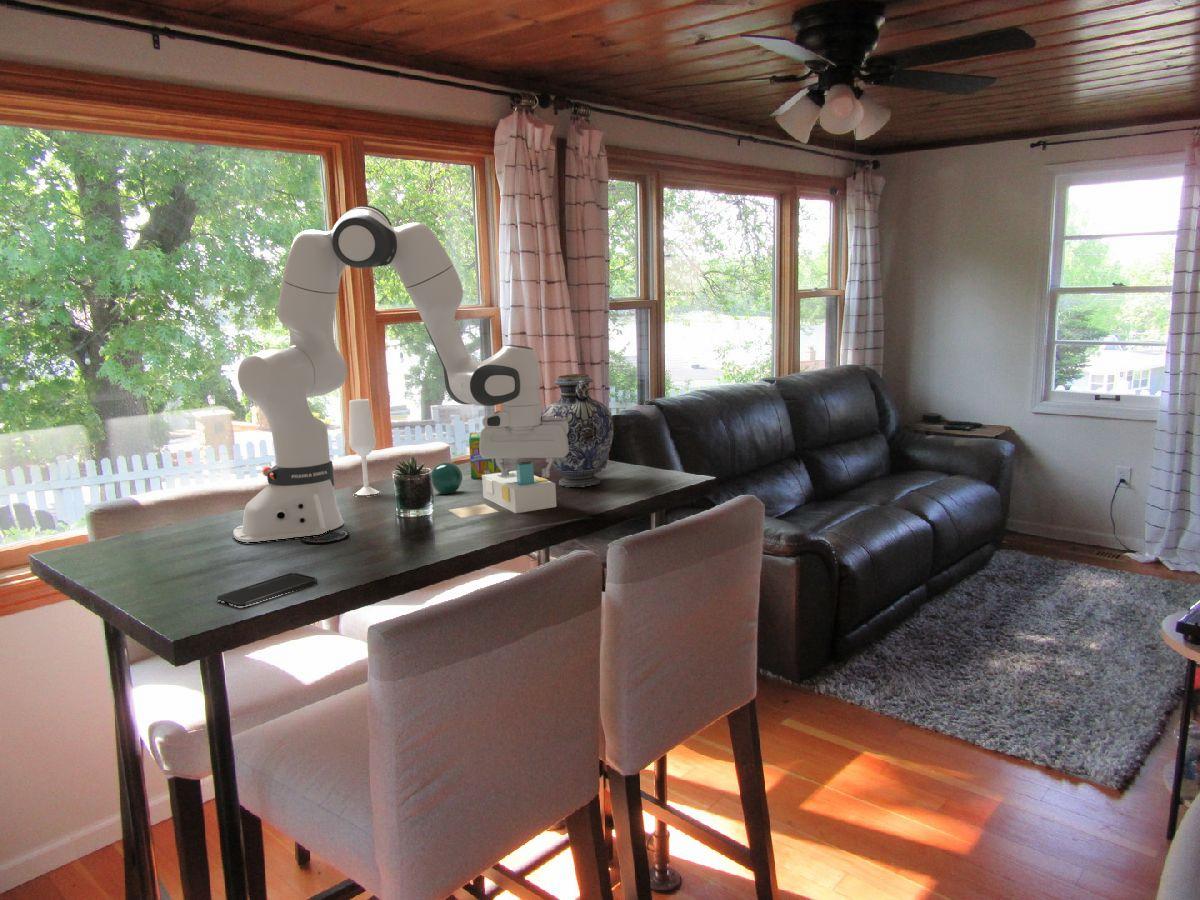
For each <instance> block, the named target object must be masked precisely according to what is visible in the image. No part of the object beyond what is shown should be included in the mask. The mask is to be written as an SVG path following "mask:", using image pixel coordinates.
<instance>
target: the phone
mask: <svg viewBox="0 0 1200 900" xmlns="http://www.w3.org/2000/svg"><path fill="white" fill-rule="evenodd" d="M314 584H316V585H318V584H319V581H318V578H317V577H313V576H310V575H306V574H301V573H298V572H291V573H290V572H289V573H286V574H283V575H280V576H276V577H273V578H270V579H267V580H264V581H261V582H258V583H253V584H251V585H247V586H245V587H242V588H238V589H236V590H235V589H234V590H231V591H228V592H226V593H222V594H220V595H218V596H217V597H216V600H217V599H218V600H221V601H224V602H227V603H226V604H229V603H230V604H233V605H236V606H246V605H249V604H253V603H256V602H260V601H263V600H266V599H269V598H272V597H275V596H278V595H281V594H285V593H288V592H292V591H295V592H297V591H296V590H298V591H300V590H299V589H301V590H303V589H302V588H304V589H307V588H310V587H313V586H315V585H314ZM312 585H313V586H312ZM309 586H310V587H309ZM306 587H307V588H306ZM292 593H293V592H292ZM221 601H220V602H221Z"/></svg>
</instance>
